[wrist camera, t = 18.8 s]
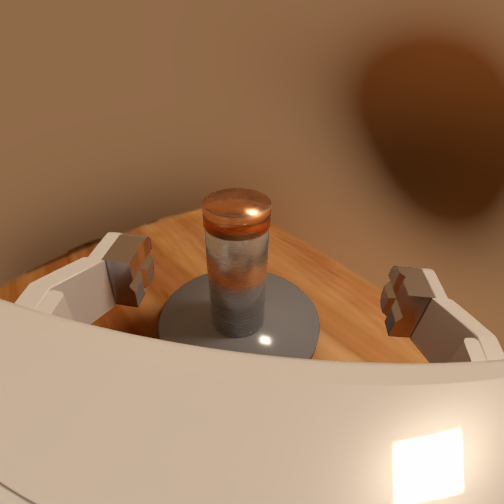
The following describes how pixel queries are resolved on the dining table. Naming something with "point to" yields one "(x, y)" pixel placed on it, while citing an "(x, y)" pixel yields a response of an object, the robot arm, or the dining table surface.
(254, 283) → the spice shaker
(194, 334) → the charcoal plate
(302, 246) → the dining table surface
